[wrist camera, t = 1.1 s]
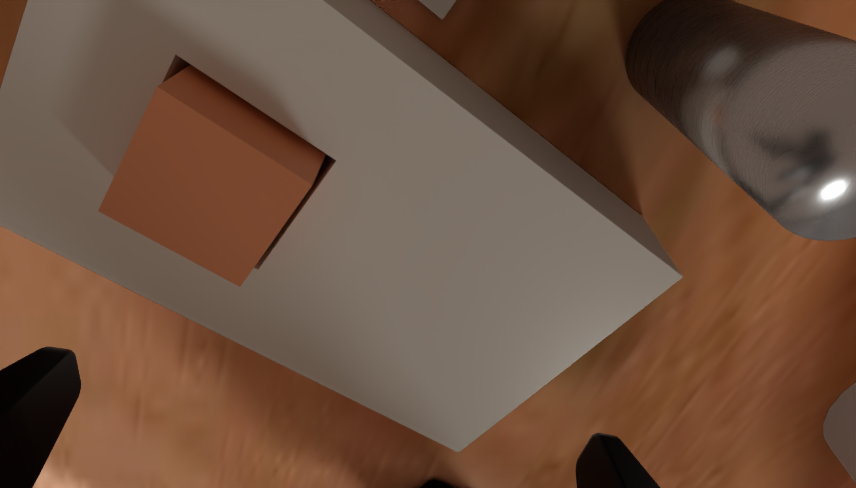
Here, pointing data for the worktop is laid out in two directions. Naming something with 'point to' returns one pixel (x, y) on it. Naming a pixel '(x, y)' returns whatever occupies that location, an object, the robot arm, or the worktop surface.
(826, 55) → the shiny gray metallic cylinder
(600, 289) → the switch panel
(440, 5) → the rubber mat
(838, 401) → the cylinder with rectangular tab
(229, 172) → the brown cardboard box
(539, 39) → the worktop surface
